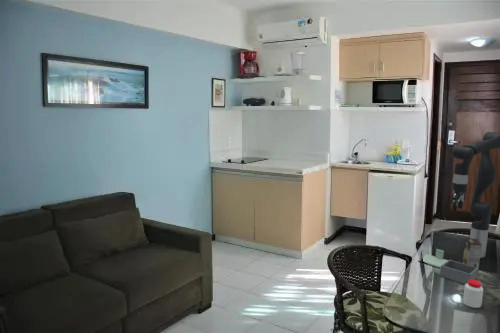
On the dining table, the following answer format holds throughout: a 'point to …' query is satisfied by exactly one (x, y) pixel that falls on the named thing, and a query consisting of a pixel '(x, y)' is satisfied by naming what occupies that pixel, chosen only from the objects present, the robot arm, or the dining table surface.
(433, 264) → the snap lid
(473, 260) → the coffee box
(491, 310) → the dining table surface
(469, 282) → the pill bottle
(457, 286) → the dining table surface
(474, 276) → the parts tub
